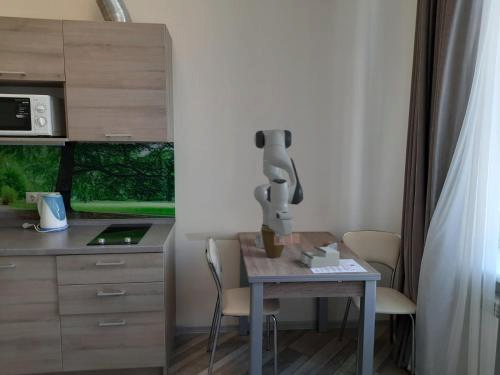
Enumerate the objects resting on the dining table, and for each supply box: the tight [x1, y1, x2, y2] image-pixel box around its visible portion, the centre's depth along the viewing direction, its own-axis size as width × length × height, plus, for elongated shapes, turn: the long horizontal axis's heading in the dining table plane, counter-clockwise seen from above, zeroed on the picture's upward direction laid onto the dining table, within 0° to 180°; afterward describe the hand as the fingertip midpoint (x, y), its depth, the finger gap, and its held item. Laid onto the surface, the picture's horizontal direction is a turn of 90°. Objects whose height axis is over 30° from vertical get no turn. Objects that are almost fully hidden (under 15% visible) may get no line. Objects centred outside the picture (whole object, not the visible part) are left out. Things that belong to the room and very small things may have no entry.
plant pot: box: [260, 226, 285, 259], centre depth 187 cm, size 15×15×16 cm
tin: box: [321, 239, 339, 251], centre depth 189 cm, size 15×3×8 cm, turn 137°
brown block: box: [274, 233, 301, 246], centre depth 164 cm, size 2×13×4 cm, turn 108°
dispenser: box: [300, 245, 341, 269], centre depth 175 cm, size 11×16×8 cm
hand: (279, 241), depth 163 cm, fingers closed on brown block, 2 cm apart
